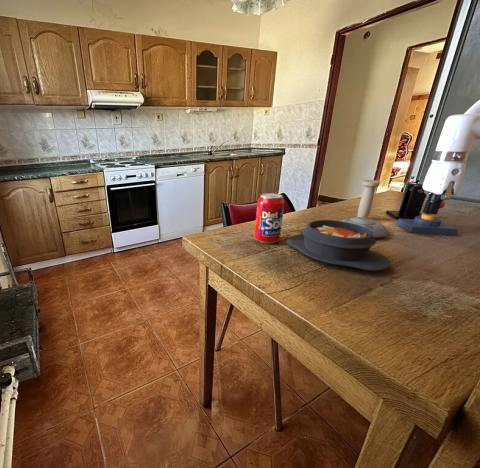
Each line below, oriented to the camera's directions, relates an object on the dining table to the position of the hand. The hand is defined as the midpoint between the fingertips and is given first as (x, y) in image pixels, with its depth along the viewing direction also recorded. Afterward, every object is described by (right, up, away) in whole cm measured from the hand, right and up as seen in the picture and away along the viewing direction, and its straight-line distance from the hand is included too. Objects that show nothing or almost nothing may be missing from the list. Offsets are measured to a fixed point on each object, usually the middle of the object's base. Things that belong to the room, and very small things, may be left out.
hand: (429, 213), depth 87 cm
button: (0, -2, +1) cm, 2 cm away
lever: (+10, +6, +12) cm, 16 cm away
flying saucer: (-23, -7, +1) cm, 24 cm away
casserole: (-43, -13, -15) cm, 47 cm away
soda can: (-57, -9, -3) cm, 58 cm away
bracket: (+7, 0, +15) cm, 16 cm away
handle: (-13, -2, +14) cm, 19 cm away
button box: (0, -5, +2) cm, 6 cm away
